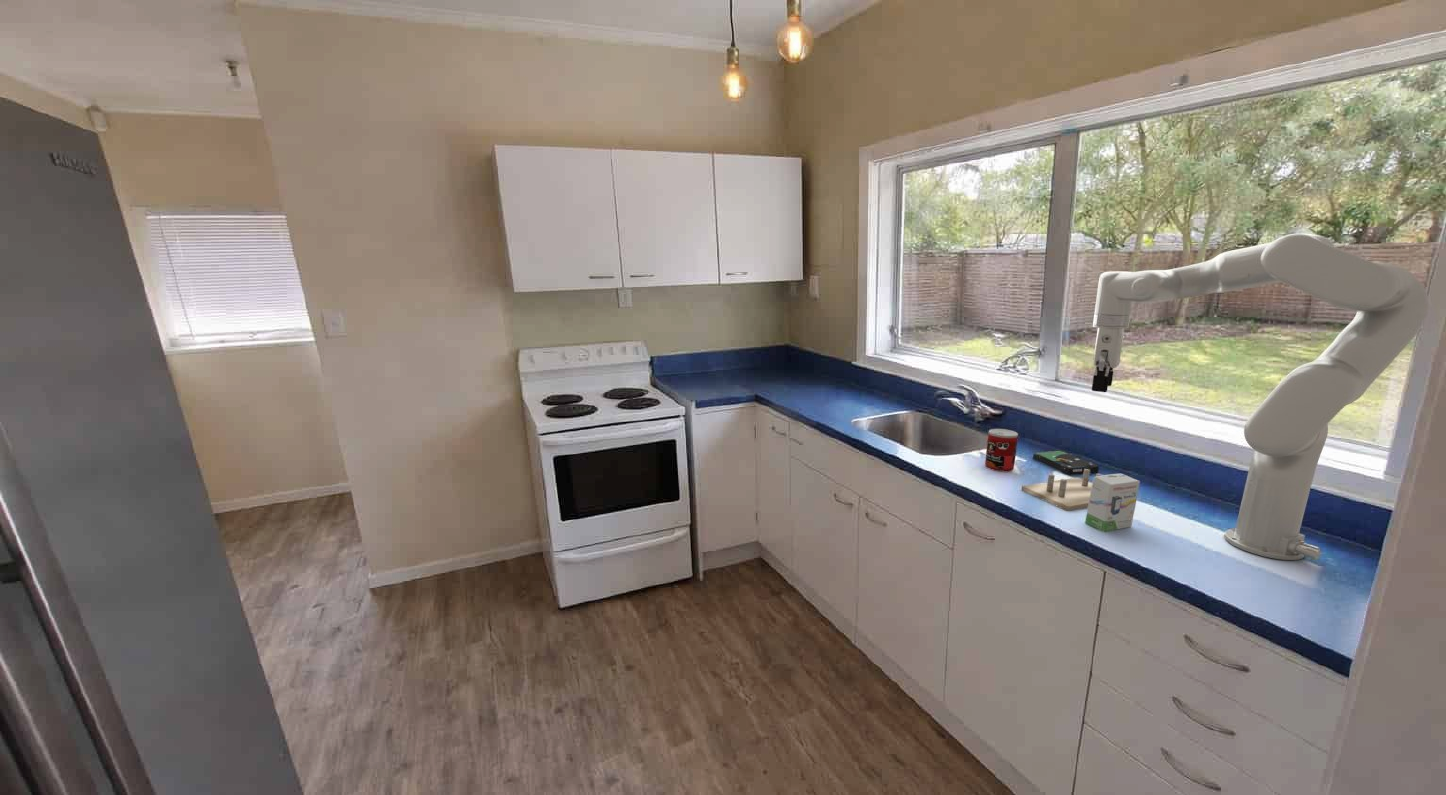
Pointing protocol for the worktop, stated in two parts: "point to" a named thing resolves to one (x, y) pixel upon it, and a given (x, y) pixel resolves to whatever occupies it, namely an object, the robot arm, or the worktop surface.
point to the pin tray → (1064, 491)
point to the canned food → (1001, 449)
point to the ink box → (1112, 502)
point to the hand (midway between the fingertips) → (1101, 388)
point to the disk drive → (1065, 462)
